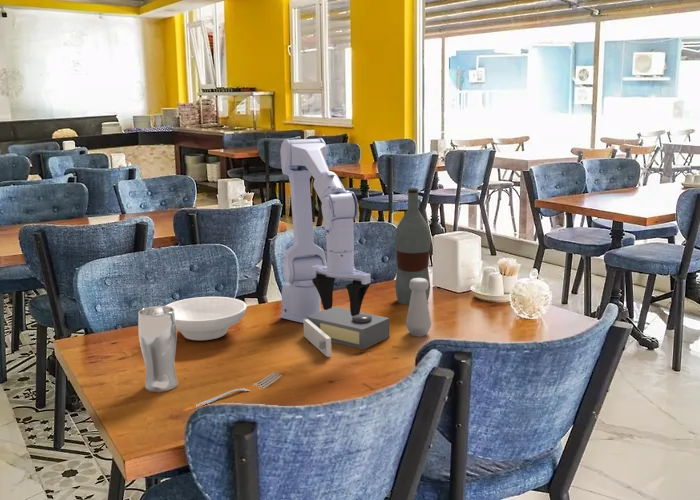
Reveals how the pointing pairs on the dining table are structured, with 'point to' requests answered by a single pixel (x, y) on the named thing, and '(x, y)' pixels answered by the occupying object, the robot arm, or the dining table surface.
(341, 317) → the camera housing
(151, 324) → the beer glass
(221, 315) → the bowl
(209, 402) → the fork
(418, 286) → the salt shaker
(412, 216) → the bottle
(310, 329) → the door
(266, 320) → the dining table surface
